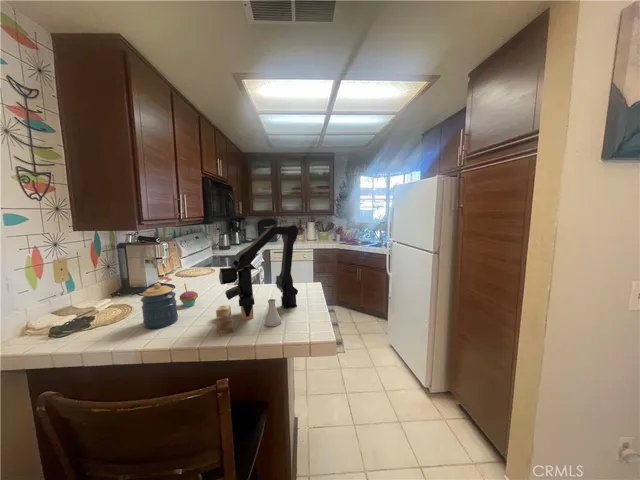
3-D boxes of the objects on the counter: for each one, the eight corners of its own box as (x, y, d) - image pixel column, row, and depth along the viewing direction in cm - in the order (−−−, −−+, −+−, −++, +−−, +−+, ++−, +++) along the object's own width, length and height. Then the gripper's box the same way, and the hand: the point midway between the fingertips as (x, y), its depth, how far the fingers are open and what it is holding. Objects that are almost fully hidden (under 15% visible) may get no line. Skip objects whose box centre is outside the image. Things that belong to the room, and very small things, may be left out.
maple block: (231, 315, 121) (230, 305, 120) (228, 320, 116) (227, 309, 115) (219, 316, 120) (218, 305, 120) (216, 321, 115) (215, 310, 115)
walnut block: (229, 327, 109) (228, 316, 108) (232, 332, 104) (231, 320, 104) (217, 331, 106) (216, 319, 105) (219, 336, 102) (218, 323, 101)
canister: (158, 331, 107) (153, 288, 105) (136, 327, 112) (131, 286, 110) (185, 318, 119) (181, 280, 117) (163, 315, 124) (159, 278, 122)
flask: (278, 327, 107) (276, 303, 106) (261, 326, 109) (259, 302, 107) (284, 319, 114) (282, 297, 113) (268, 319, 116) (266, 296, 114)
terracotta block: (253, 313, 122) (252, 303, 122) (253, 317, 117) (252, 306, 117) (241, 315, 121) (240, 304, 120) (241, 319, 116) (241, 308, 115)
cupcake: (176, 307, 134) (173, 284, 132) (190, 301, 142) (188, 279, 140) (188, 309, 130) (186, 285, 129) (202, 303, 138) (200, 280, 137)
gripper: (226, 277, 124) (229, 309, 126) (224, 288, 106) (227, 325, 108) (251, 274, 127) (253, 306, 129) (253, 285, 109) (255, 321, 111)
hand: (247, 314), depth 119 cm, fingers closed on terracotta block, 5 cm apart
